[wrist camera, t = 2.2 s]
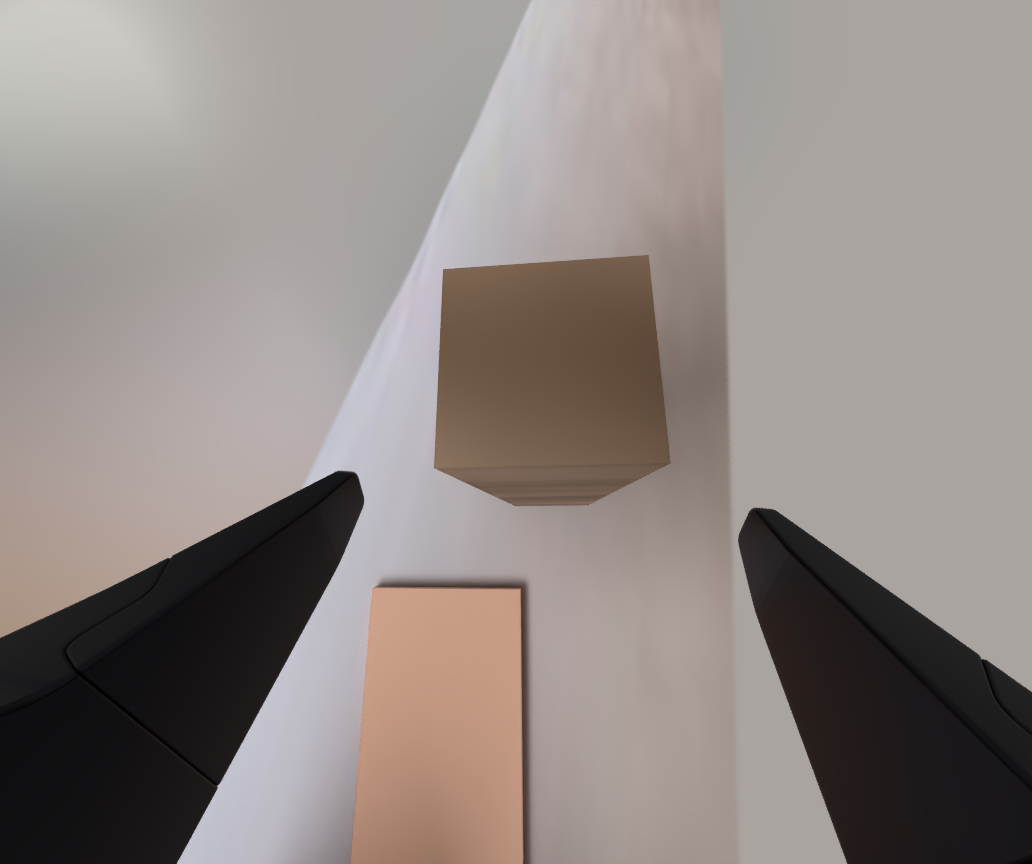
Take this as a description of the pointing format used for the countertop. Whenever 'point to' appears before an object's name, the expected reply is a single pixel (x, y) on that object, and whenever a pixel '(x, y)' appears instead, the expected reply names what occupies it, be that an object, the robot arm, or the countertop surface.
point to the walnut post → (550, 380)
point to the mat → (441, 729)
